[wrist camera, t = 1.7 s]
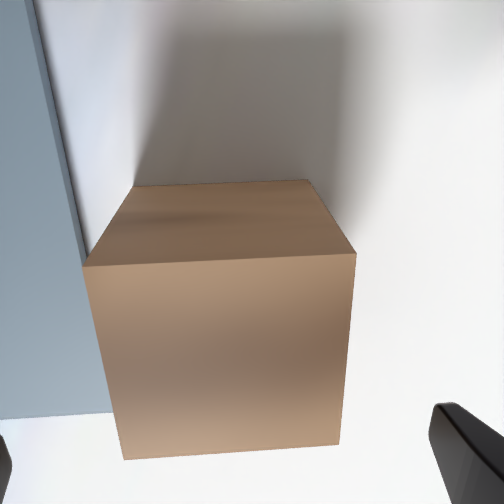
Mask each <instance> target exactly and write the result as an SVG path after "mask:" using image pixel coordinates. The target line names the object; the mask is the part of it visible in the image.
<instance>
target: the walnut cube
mask: <svg viewBox="0 0 504 504" xmlns="http://www.w3.org/2000/svg"><path fill="white" fill-rule="evenodd" d="M356 255H357V253H356V252H355V250H354V249H353V247H352V246H351V244H350V243H349V241H348V240H347V238H346V237H345V235H344V234H343V232H342V230H341V229H340V227H339V226H338V224H337V223H336V221H335V220H334V218H333V217H332V215H331V214H330V212H329V211H328V209H327V208H326V206H325V205H324V203H323V202H322V200H321V199H320V197H319V196H318V194H317V193H316V191H315V190H314V188H313V187H312V185H311V184H310V182H309V181H308V180H285V181H260V182H235V183H211V184H186V185H161V186H136V187H132V189H131V190H130V192H129V193H128V195H127V196H126V198H125V200H124V201H123V203H122V204H121V206H120V207H119V209H118V211H117V212H116V214H115V215H114V217H113V218H112V220H111V222H110V223H109V225H108V226H107V228H106V229H105V231H104V233H103V234H102V236H101V237H100V239H99V240H98V242H97V244H96V245H95V247H94V248H93V250H92V251H91V253H90V255H89V256H88V258H87V259H86V261H85V262H84V264H83V266H82V271H83V276H84V280H85V285H86V290H87V294H88V299H89V303H90V308H91V312H92V317H93V321H94V326H95V331H96V335H97V340H98V344H99V349H100V353H101V358H102V363H103V367H104V372H105V376H106V381H107V385H108V390H109V395H110V399H111V404H112V408H113V413H114V417H115V422H116V427H117V431H118V436H119V440H120V445H121V449H122V454H123V458H124V460H133V459H147V458H161V457H175V456H189V455H203V454H217V453H231V452H245V451H259V450H273V449H287V448H301V447H315V446H329V445H339V439H340V428H341V418H342V407H343V396H344V385H345V374H346V364H347V353H348V342H349V331H350V320H351V309H352V299H353V288H354V277H355V266H356Z"/></svg>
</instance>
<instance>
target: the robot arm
mask: <svg viewBox="0 0 504 504" xmlns="http://www.w3.org/2000/svg"><path fill="white" fill-rule="evenodd" d="M429 441H430V444H431V447H432V450H433V452H434V455H435V458H436V461H437V464H438V467H439V469H440V472H441V475H442V478H443V481H444V483H445V486H446V489H447V492H448V495H449V498H450V500H451V503H452V504H504V437H503V436H502V435H500V434H499V433H498V432H496V431H495V430H493V429H492V428H491V427H489V426H488V425H486V424H485V423H484V422H482V421H481V420H479V419H478V418H477V417H475V416H474V415H472V414H471V413H470V412H468V411H467V410H465V409H464V408H463V407H461V406H460V405H458V404H456V403H453V402H449V403H438V404H436V405H435V406H434V408H433V412H432V417H431V422H430V426H429ZM11 471H12V460H11V457H10V455H9V452H8V449H7V447H6V444H5V441H4V439H3V437H2V436H1V435H0V504H2V502H3V499H4V495H5V492H6V489H7V485H8V482H9V479H10V475H11Z"/></svg>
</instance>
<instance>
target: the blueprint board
mask: <svg viewBox="0 0 504 504" xmlns="http://www.w3.org/2000/svg"><path fill="white" fill-rule="evenodd" d="M86 259H87V257H86V252H85V247H84V243H83V238H82V233H81V228H80V224H79V219H78V214H77V209H76V205H75V200H74V195H73V190H72V186H71V181H70V176H69V171H68V167H67V162H66V157H65V152H64V148H63V143H62V138H61V133H60V129H59V124H58V119H57V114H56V110H55V105H54V100H53V96H52V91H51V86H50V81H49V77H48V72H47V67H46V62H45V58H44V53H43V48H42V43H41V39H40V34H39V29H38V24H37V20H36V15H35V10H34V5H33V1H32V0H0V420H4V419H20V418H35V417H50V416H65V415H81V414H96V413H111V412H113V408H112V404H111V399H110V395H109V390H108V385H107V381H106V376H105V372H104V367H103V363H102V358H101V353H100V349H99V344H98V340H97V335H96V331H95V326H94V321H93V317H92V312H91V308H90V303H89V299H88V294H87V290H86V285H85V280H84V276H83V271H82V266H83V264H84V262H85V261H86Z"/></svg>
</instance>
